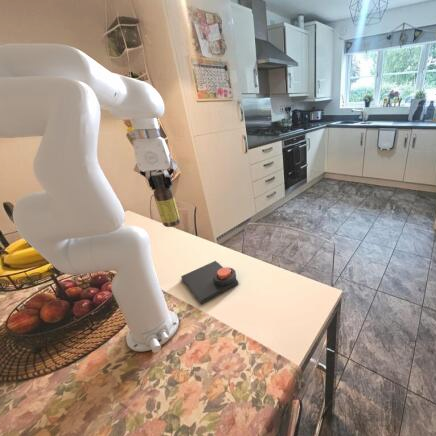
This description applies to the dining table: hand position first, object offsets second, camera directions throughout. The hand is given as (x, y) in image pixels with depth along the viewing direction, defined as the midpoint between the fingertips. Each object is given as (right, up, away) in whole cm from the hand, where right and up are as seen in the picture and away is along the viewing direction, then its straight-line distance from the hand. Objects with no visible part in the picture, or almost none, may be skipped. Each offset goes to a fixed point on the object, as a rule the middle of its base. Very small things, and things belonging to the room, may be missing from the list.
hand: (161, 187), depth 88 cm
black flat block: (+19, -33, -4) cm, 38 cm away
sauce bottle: (+1, -14, +6) cm, 15 cm away
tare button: (+24, -30, -6) cm, 39 cm away
